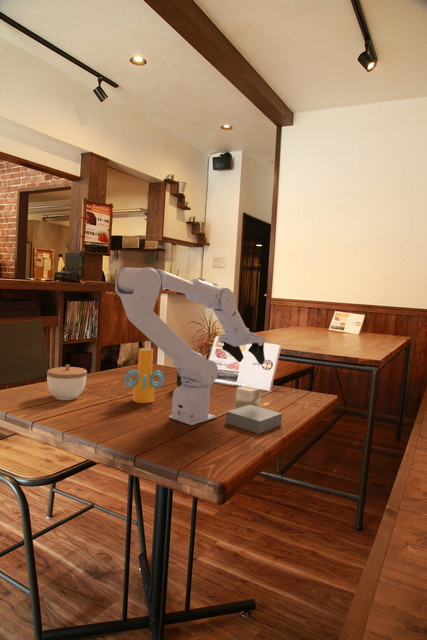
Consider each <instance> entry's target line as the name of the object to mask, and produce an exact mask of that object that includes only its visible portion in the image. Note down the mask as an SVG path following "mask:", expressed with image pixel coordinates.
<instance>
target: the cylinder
mask: <svg viewBox="0 0 427 640" xmlns="http://www.w3.org/2000/svg"><path fill="white" fill-rule="evenodd" d="M153 357H154V349H153V348H146V347H145V348H144V347H141V348H139V349H138V361H137V365H138V366H137V370H136V369H133V368H131V369H130V370H128V372H126V374H125V375H124V377H123V382H124V384H125V386H126V387H129V388H133V389H132V392H133V394H132V401H133V402H135V403H137V404H151V403H153V402H154V401H155V389H159V388H161V387H162V386H163V384H164V379H165V375H164V372H163V371H162V370H154V371H153V360H154V359H153ZM131 375H133V376H134V377H135V380H132V379H131V378H130V377H131ZM154 377H158V378H159V381H155V380H154Z"/></svg>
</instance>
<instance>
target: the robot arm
mask: <svg viewBox="0 0 427 640" xmlns="http://www.w3.org/2000/svg"><path fill="white" fill-rule="evenodd" d="M205 280H206V279H205V278H203V277H197V278H192V279H191V280H187V279H185V278H183V277H180V276H178V275H175V274H172V273H170V272H168V271H165V270H164V269H163V270H162V269H158V268H157V269H156V268H154V267H149V266H148V267H131V266H126V267H125V266H124V267H123V268H121V269H119V271H118V272H117V274H116V277H115V286H114V288H115V289H114V292H115V293H116V294H117V295H118V297H119V298H120V301H121V303H122V306H123V308H124V311H125V314H126V318H127V319H128V321H129V322H130V323H131V324H133V326H134V327H136V328H137V329H138V330H139V331H140V332H141V333H142V334H143V335H144V336H146V337H147V338H148V339H149V340H150V341H151V342H152V343H153V344H154V345H155V346H156V347H158V348H159V349H160V350H161V352H163V353H164V354H165V355H166V356H167V357H169V359H170V360H172V362H173V363H172V366H173V367H175V369H176V370H177V371H178V374H179V376H180V377H181V381H182V382H183V383H182V385H181V386H180V387H178V388H175V389H174V390H173V391H172V400H171V401H172V402H171V414H170V415H169V416H168V418H170V419H172V420H175V421H179V422H181V423H183V424H186V425H189V426H194V425H197V424H199V423H203V422H207V421H210V420H213V419H216V418H217V417H216V415H214V414H210V398H211V397H210V395H211V386H213V383H214V382H215V381H216V379H217V378H218V373H219V369H218V365H217V363H216V362H215V361H214V360H211V359H207V358H206V357H205V356H204V355H202V354H201V353H200V354H201V355H200V354H198V353H199V352H196V351H195V350H193V349H192V348H191V347H190V346H189V345H188V344H187V343H186V342H185V341H184V340H183V339H182V338H181V337H180V336H179V335H178V334H177V333H176V332H175V331H174V330H173V329H172V328H171V327H170V326H169V325H168V324H167V323H166V322H165V321H164V320H163V319H161V317H160V316H159V315H158V314H156V312H155V311H154V309H155V306H156V303H157V300H158V297H159V294H160V291H164V290H165V289H166V290H170V291H173V292H178V293H181V294H184V295H185V297H186V299H187V300H188V301H190V302H193V303H195V304H199V305H203V306H205V307H206V308H207V309H212V310H213V313H214V314H215V316H216V318H217V320H218V322H219V323H220V325H221V328H222V329H223V331H224V333H220V335H219V336H218V338H217V339H218V341H219V343H220V344H223V345H222V347H221V348H222V350H223V351H225V352H227V353H228V354H229V355H231V356H232V358H234V359H235V361H236V362H238V363H241V362H242V360H244V354H243V352H242V349H241V347H240V346H246V345H250V344H251V346H250V347H249V348H248V349H247V351H248V352H249V353H251V354H252V355H253V357H254V358H255V360H256V362H258V364H259V365H263V364H264V363H265V361H266V358H265V351H264V349H265V342H266V340H265V337H264V336H263V335H260V334H256V333H253V332H251V331H250V328H249V327H246V325H245V323H244V320H243V319H242V317H241V314H240V312H239V311H238V306H237V304H236V295H235V292H234V291H232V290H231V289H230V288H228V287H219V285H218V283H214V282H213V283H210V282H207V281H205Z"/></svg>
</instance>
